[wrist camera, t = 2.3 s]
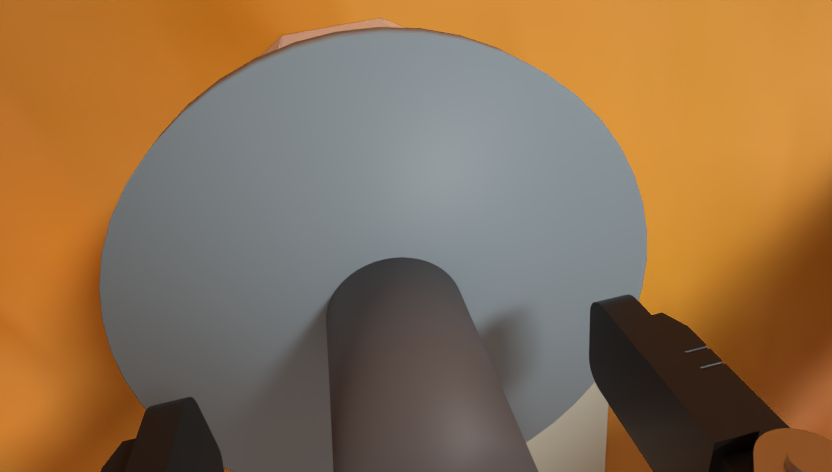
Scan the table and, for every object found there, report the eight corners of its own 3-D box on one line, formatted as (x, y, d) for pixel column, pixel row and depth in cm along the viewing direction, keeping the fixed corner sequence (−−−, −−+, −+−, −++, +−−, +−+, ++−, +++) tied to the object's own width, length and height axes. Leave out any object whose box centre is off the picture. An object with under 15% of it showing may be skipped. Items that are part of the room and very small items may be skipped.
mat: (606, 299, 23) (613, 307, 22) (598, 478, 29) (603, 488, 28) (227, 386, 21) (225, 397, 21) (301, 555, 27) (301, 567, 27)
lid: (641, -24, 11) (950, 9, 6) (614, 407, 17) (750, 613, 12) (-1, 91, 10) (-349, 261, 5) (219, 506, 16) (177, 778, 11)
